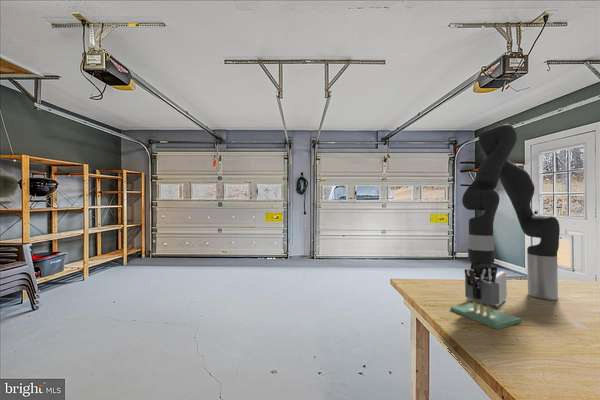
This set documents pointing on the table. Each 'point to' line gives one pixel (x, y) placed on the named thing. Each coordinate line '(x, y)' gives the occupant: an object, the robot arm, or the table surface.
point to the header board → (486, 314)
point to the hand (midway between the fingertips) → (481, 297)
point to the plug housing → (484, 292)
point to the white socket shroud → (502, 287)
